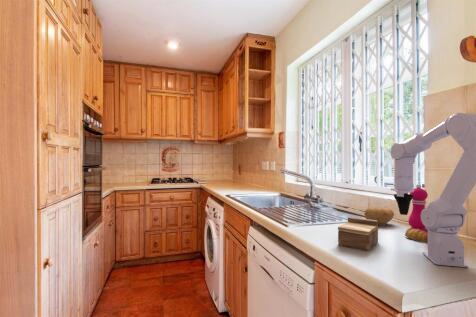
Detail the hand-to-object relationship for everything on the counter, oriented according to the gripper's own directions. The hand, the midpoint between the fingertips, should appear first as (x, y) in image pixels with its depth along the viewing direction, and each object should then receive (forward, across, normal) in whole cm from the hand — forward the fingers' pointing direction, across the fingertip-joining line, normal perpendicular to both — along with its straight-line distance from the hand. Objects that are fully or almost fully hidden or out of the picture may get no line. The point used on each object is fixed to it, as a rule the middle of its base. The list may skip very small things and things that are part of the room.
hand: (403, 214), depth 95 cm
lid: (+5, +11, -12) cm, 17 cm away
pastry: (+11, -10, +4) cm, 15 cm away
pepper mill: (+11, -19, +2) cm, 22 cm away
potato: (+11, -25, -14) cm, 30 cm away
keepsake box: (+10, +11, -12) cm, 20 cm away
